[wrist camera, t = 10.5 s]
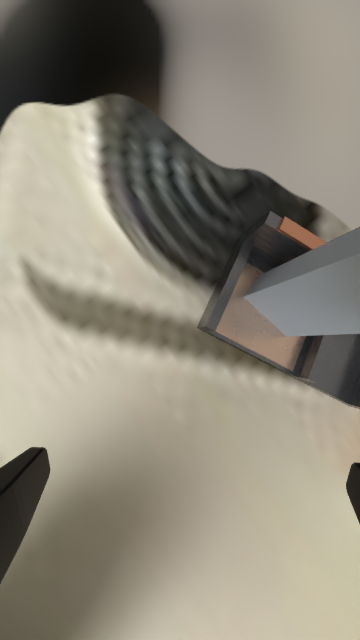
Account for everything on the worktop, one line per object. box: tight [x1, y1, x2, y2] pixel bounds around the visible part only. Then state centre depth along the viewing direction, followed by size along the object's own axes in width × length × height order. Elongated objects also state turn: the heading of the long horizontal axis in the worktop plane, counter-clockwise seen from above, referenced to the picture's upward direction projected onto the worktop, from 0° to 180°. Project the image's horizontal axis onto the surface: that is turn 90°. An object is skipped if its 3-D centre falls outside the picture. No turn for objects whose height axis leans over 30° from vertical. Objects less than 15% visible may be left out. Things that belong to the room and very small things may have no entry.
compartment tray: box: [197, 211, 360, 409], centre depth 20 cm, size 8×16×5 cm, turn 64°
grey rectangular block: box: [244, 227, 360, 336], centre depth 16 cm, size 3×5×12 cm, turn 49°
